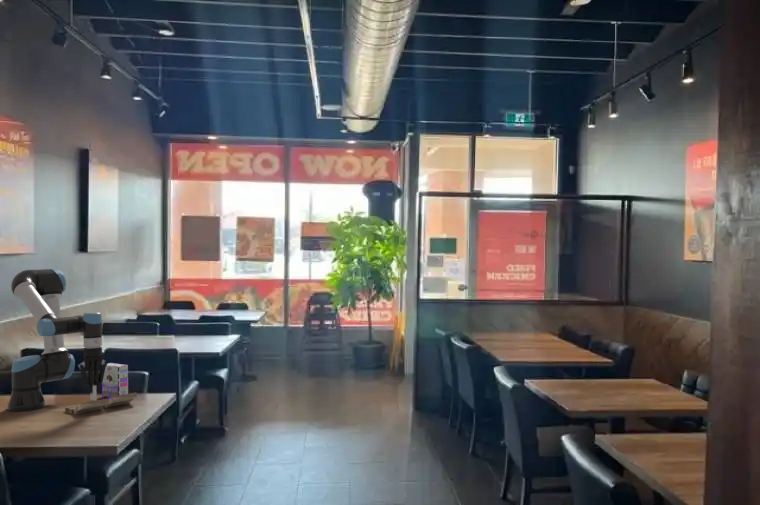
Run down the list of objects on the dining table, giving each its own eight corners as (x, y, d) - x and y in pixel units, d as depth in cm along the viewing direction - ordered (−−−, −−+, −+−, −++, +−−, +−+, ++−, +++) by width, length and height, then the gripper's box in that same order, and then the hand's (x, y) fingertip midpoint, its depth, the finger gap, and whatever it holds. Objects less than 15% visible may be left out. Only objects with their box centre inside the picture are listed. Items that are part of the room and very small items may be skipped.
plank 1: (74, 413, 281) (73, 409, 281) (100, 408, 290) (99, 404, 290) (82, 407, 276) (81, 403, 277) (108, 402, 285) (107, 398, 286)
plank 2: (105, 407, 292) (104, 403, 292) (129, 402, 301) (128, 399, 301) (113, 400, 287) (111, 396, 288) (137, 396, 296) (136, 392, 297)
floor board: (65, 411, 285) (64, 407, 285) (121, 400, 306) (121, 396, 306) (72, 414, 281) (72, 409, 281) (129, 402, 301) (129, 398, 301)
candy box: (128, 398, 312) (128, 364, 312) (118, 400, 307) (118, 366, 307) (111, 394, 319) (111, 362, 319) (101, 397, 314) (100, 364, 315)
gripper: (82, 349, 275) (82, 403, 275) (111, 346, 285) (111, 398, 285) (74, 348, 280) (74, 401, 279) (102, 344, 290) (103, 396, 289)
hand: (93, 400), depth 282 cm, fingers closed
